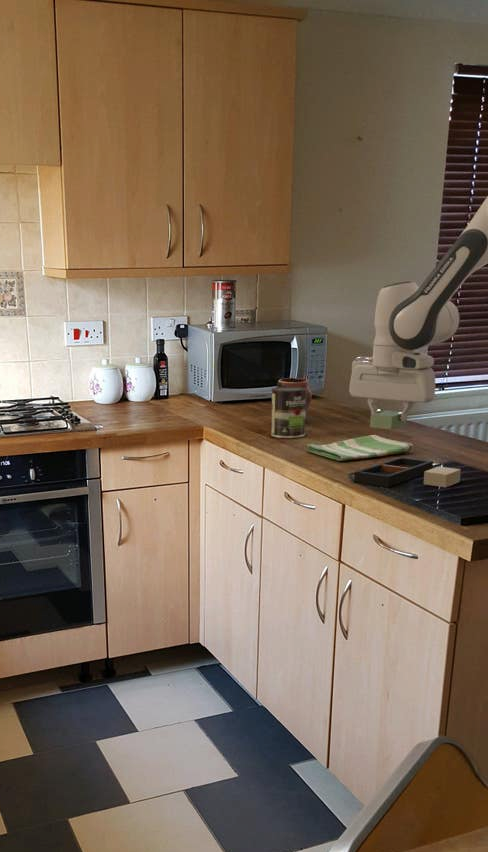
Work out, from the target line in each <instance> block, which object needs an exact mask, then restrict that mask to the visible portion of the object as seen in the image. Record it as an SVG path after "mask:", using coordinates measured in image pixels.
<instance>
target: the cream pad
mask: <svg viewBox="0 0 488 852" xmlns="http://www.w3.org/2000/svg"><path fill="white" fill-rule="evenodd" d="M461 471H462V469H461V468H455V467H446V466H440V465H439V466H435V467H433V469H430V470H427V471H425V472H424V474H423V485H425V486H433V487H440V488H445V489H446V488H448V487H451V486H453V485H455V484H458V483H461V473H462V472H461Z"/></svg>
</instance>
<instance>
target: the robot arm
mask: <svg viewBox="0 0 488 852" xmlns="http://www.w3.org/2000/svg"><path fill="white" fill-rule="evenodd" d="M487 264H488V195H487V196H486V198H485V199H484V201H483V202H482V203H481V205H480V207H479V208H478V209H477V211H476V212H475V213H474V215H473V217H472V218H471V220H470V221H469V223H468V224H467V226H466V227H465V228H464V230H462V232H461V234H460V235H459V236H458V237H457V239H456V240H455V242H454V243H453V244H452V246H450V248H448V250H447V251H446V253H445V254H444V255H443V256H442V258H441V259H440V260H439V261H438V263H437V265H435V266H434V268H433V269H432V271H431V272H430V273H429V274H428V275H427V277H426V278H425V280H424V281H423V282H422V283H421V285H420V286H418V285H417V284H416V282H414V281H409V280H408V281H407V280H406V281H400V282H395V283H390V284H387V285H384V286H383V287H382V288H381V289H380V290H379V292H378V295H377V299H376V304H375V315H374V328H375V337H374V340H373V347H372V348H373V349H372V356H364V355H359V356H357V357H356V358H354V360H353V361H352V363H351V376H350V381H349V388H348V389H349V390H348V391H349V394H350V395H351V397H352V398H353V397H354V398H364V399H367V402H366V403H367V405H368V407H369V410H370V411H371V412H370V413H371V414H374V413H378V412H382V410H381V409H379V408H378V406H377V403H378V399H379V400H385V401H386V400H387V401H397V402H402V407H403V409H402V411H399V412H400V413H398V421H406V420H407V421H408V413H409V412H410V411H411V409H412V407H413V406H414V403H420V404H426V403H431V402H432V401H433V400H434V398H435V396H436V374H435V372H434V370H433V368H432V367H433V366H434V365H435V359H434V357H433V356H432V355H429V354H426V353H425V352H422V351H419V349H421V348H424V347H427V346H433V345H436V344H440V343H444V342H446V341H447V340H450V339H451V338H452V337H453V336H455V334H456V333H457V331H458V329H459V326H460V322H461V315H460V312H459V309H458V307H457V306H456V305H455V303H454V302H452V301H451V299H452V298H453V296H454V295H455V294H456V293H457V291H458V290H459V289H460V288H461V286H462V285H463V283H464V282H466V280H467V279H468V278H469V277H470V276H471V275H473V273H475V272H476V271H477V270H479V269H480V268H482V267H483V266H485V265H487ZM371 414H370V415H371Z"/></svg>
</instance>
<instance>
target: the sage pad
mask: <svg viewBox="0 0 488 852" xmlns="http://www.w3.org/2000/svg"><path fill="white" fill-rule="evenodd" d="M400 412H401V411H397V410H396V411H395V410H394V411H393V410H387V409H386V410H383V411H382V410H381V412H378V413H374V414H370V419H369V428H373V429H379V430H389V431H391V430H395V429H399V428H402V427H407V425H408V419H407V420H406V421H398V413H400Z"/></svg>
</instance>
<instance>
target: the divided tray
mask: <svg viewBox="0 0 488 852" xmlns="http://www.w3.org/2000/svg"><path fill="white" fill-rule="evenodd" d="M433 468H434V461H433V460H426V459H419V458H412V457H402V456H399V457H396V458H393V459H390V460H387V461H383V462H381V463H377V464H374V465H372V466H368V467H365V468H362V469H359V470H356V471H354V478H353V479H354V483H359V484H364V485H371V486H372V485H373V486H377V487H383V488H390V487H394V486H396V485H399V484H402V483H404V482H407V481H409V480H412V479H415V478H418V477H420V476H421V477H422V476H424V472H425V471H427V470H430V469H433Z"/></svg>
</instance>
